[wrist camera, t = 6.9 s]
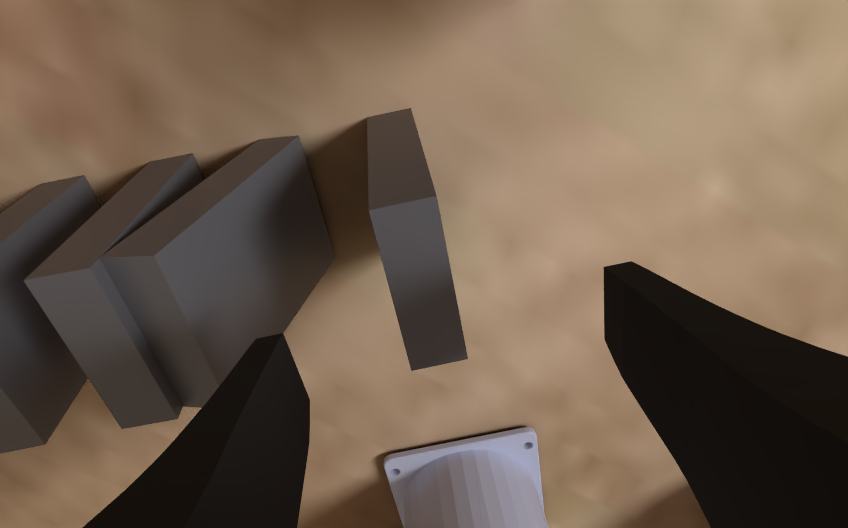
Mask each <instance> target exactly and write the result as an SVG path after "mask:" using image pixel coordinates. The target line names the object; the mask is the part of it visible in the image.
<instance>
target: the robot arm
mask: <svg viewBox="0 0 848 528" xmlns="http://www.w3.org/2000/svg"><path fill="white" fill-rule="evenodd" d="M604 331H605V341H606V344H607V346H608V348H609V350H610V353H611V355H612V357H613V359H614V361H615V363H616V366H617V368H618V370H619V372H620V374H621V376H622V378H623V379H624V381H625V383H626V384H627V386H628V388H629V389H630V391H631V392H632V394H633V395H634V397H635V399H636V400H637V402H638V403H639V405H640V406H641V408H642V410H643V411H644V413H645V414H646V416H647V417H648V419H649V420H650V422H651V423H652V425H653V427H654V428H655V430H656V431H657V433H658V434H659V436H660V437H661V439H662V441H663V442H664V444H665V445H666V447H667V448H668V450H669V451H670V453H671V454H672V456H673V458H674V459H675V461H676V462H677V464H678V466H679V467H680V469H681V471H682V473H683V474H684V476H685V478H686V479H687V481H688V483H689V485H690V487H691V489H692V491H693V493H694V495H695V497H696V499H697V501H698V503H699V505H700V507H701V509H702V511H703V513H704V515H705V517H706V519H707V521H708V522H709V524H710V527H711V528H848V357H847V356H844V355H841V354H838V353H835V352H831V351H828V350H825V349H822V348H819V347H816V346H814V345H811V344H808V343H805V342H803V341H800V340H797V339H794V338H792V337H789V336H786V335H784V334H781V333H778V332H776V331H773V330H771V329H768V328H766V327H764V326H761V325H759V324H757V323H754V322H752V321H750V320H748V319H745V318H743V317H741V316H739V315H736V314H734V313H732V312H730V311H728V310H726V309H723V308H721V307H719V306H717V305H715V304H713V303H711V302H709V301H707V300H705V299H703V298H701V297H699V296H697V295H695V294H693V293H691V292H689V291H687V290H685V289H684V288H682V287H680V286H678V285H676V284H674V283H672V282H670V281H668V280H667V279H665V278H663V277H661V276H659V275H657V274H655V273H653V272H652V271H650V270H648V269H646V268H644V267H642V266H640V265H638V264H636V263H634V262H626V263H621V264H616V265H611V266H607V267H604ZM309 432H310V399H309V397H308V394H307V392H306V389H305V387H304V384H303V382H302V379H301V377H300V374H299V372H298V369H297V367H296V364H295V362H294V359H293V357H292V354H291V352H290V349H289V347H288V344H287V342H286V339H285V337H284V334H283V333H281V334H276V335H271V336H266V337H262V338H257V339H255V341H254V342H253V343H252V344H251V345H250V347H249V348H248V349H247V351H246V352H245V353H244V354H243V356H242V357H241V358H240V360H239V361H238V362H237V364H236V365H235V366H234V368H233V369H232V370H231V372H230V373H229V374H228V376H227V377H226V378H225V380H224V381H223V382H222V383H221V385H220V386H219V387H218V388H217V390H216V391H215V392H214V394H213V395H212V396H211V397H210V399H209V400H208V401H207V403H206V404H205V405H204V406H203V407H202V409H201V410H200V411H199V412H198V413H197V414H196V416H195V417H194V418H193V419H192V420H191V421H190V423H189V424H188V425H187V426H186V427H185V428H184V430H183V431H182V432H181V433H180V434H179V435H178V437H177V438H176V439H175V440H174V441H173V442H172V443H171V445H170V446H169V447H168V448H167V449H166V450H165V451H164V452H163V453H162V454H161V455H160V456H159V457H158V458H157V459H156V460H155V461H154V463H153V464H152V465H150V466H149V467H148V468H147V469H146V470H145V471H144V472H143V473H142V474H141V475H140V476H139V477H138V478H137V479H136V480H135V481H134V482H133V483H132V484H131V485H130V486H129V487H128V488H127V489H126V490H125V491H124V492H123V493H121V494H120V495H119V496H118V497H117V498H116V499H115V500H113V501H112V502H111V503H110V504H109V505H108V506H107V507H105V508H104V509H103V510H102V511H101V512H100V513H99V514H98V515H96V516H95V517H94V518H93V519H92V520H91V521H90V522H88V523H87V524H86V525H85V526H84V527H83V528H297V524H298V517H299V510H300V504H301V497H302V490H303V483H304V476H305V469H306V462H307V455H308V447H309ZM527 442H529V443H527ZM384 469H385V472H386V475H387V478H388V481H389V485H390V488H391V491H392V494H393V497H394V500H395V503H396V506H397V509H398V512H399V516H400V519H401V522H402V525H403V528H549V527H548V524H547V521H546V517H545V514H544V506H543V496H542V486H541V475H540V465H539V455H538V445H537V436H536V433H535V431H534V429H533V428H530V427H524V428H519V429H514V430H509V431H504V432H499V433H494V434H489V435H484V436H479V437H474V438H468V439H463V440H458V441H453V442H448V443H443V444H438V445H433V446H428V447H423V448H418V449H413V450H408V451H403V452H398V453H393V454H390V455H387V456H386V457H385V458H384Z"/></svg>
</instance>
